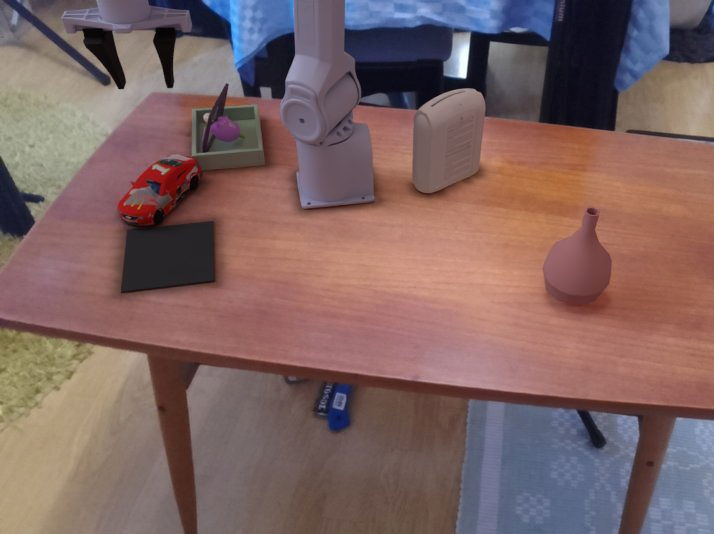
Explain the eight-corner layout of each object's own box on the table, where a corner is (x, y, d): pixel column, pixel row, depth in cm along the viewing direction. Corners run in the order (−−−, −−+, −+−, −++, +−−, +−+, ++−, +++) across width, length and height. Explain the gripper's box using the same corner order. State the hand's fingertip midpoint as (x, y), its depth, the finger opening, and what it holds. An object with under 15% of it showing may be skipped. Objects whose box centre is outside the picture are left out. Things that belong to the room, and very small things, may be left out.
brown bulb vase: (533, 271, 82) (550, 189, 73) (595, 271, 83) (619, 189, 74) (544, 318, 77) (563, 235, 68) (610, 317, 78) (637, 235, 69)
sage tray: (260, 118, 101) (257, 104, 100) (265, 165, 94) (262, 150, 92) (195, 123, 100) (191, 108, 98) (195, 171, 92) (191, 155, 90)
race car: (149, 235, 82) (140, 208, 79) (111, 224, 83) (101, 197, 80) (211, 178, 91) (205, 151, 88) (176, 168, 92) (168, 142, 89)
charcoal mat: (213, 222, 85) (212, 220, 85) (214, 281, 78) (214, 280, 78) (127, 230, 83) (127, 229, 83) (121, 292, 76) (120, 291, 76)
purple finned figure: (220, 80, 94) (202, 114, 88) (258, 94, 96) (242, 128, 90) (213, 120, 99) (196, 155, 93) (249, 133, 100) (234, 168, 94)
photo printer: (462, 158, 97) (469, 75, 88) (483, 172, 95) (492, 89, 86) (407, 183, 93) (408, 99, 83) (427, 199, 91) (430, 114, 81)
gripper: (40, -11, 76) (82, 102, 86) (176, -11, 78) (201, 99, 88) (54, -35, 81) (92, 75, 91) (182, -35, 83) (205, 72, 93)
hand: (146, 85), depth 90 cm, fingers open, 5 cm apart
